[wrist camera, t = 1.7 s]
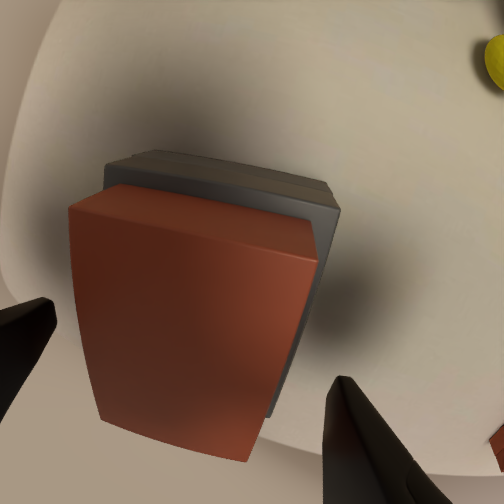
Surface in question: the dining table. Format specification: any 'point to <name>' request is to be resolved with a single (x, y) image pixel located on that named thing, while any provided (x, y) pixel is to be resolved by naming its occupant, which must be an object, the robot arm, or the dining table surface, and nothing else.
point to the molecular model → (495, 60)
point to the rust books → (498, 447)
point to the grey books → (239, 201)
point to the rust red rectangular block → (187, 312)
